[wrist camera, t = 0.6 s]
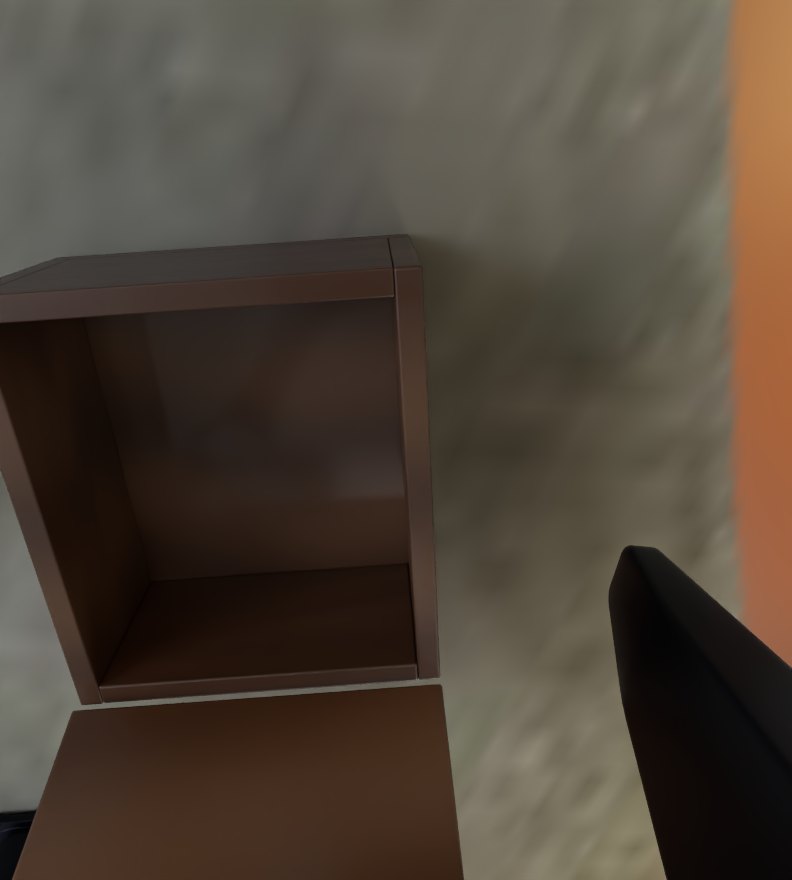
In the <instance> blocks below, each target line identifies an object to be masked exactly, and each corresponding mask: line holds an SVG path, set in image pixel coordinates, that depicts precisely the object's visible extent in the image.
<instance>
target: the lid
mask: <svg viewBox="0 0 792 880" xmlns="http://www.w3.org/2000/svg"><path fill="white" fill-rule="evenodd" d="M12 880H464V875H463V866H462V858H461V849H460V840H459V831H458V822H457V814H456V805H455V796H454V787H453V779H452V770H451V761H450V752H449V743H448V735H447V726H446V717H445V708H444V700H443V691H442V686H441V685H439V684H438V685H424V686H410V687H396V688H382V689H369V690H355V691H341V692H327V693H314V694H300V695H286V696H272V697H259V698H245V699H231V700H217V701H204V702H190V703H176V704H162V705H149V706H135V707H121V708H107V709H94V710H80V711H73V712H72V714H71V717H70V720H69V722H68V725H67V728H66V731H65V734H64V736H63V739H62V742H61V745H60V747H59V750H58V753H57V756H56V759H55V761H54V764H53V767H52V770H51V773H50V775H49V778H48V781H47V784H46V786H45V789H44V792H43V795H42V798H41V800H40V803H39V806H38V809H37V811H36V814H35V817H34V820H33V823H32V825H31V828H30V831H29V834H28V837H27V839H26V842H25V845H24V848H23V850H22V853H21V856H20V859H19V862H18V864H17V867H16V870H15V873H14V875H13V878H12Z"/></svg>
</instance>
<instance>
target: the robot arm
mask: <svg viewBox="0 0 792 880" xmlns="http://www.w3.org/2000/svg"><path fill="white" fill-rule="evenodd" d="M608 598H609V610H610V618H611V625H612V632H613V640H614V647H615V655H616V662H617V670H618V677H619V685H620V691H621V698H622V704H623V708H624V713H625V717H626V722H627V725H628V729H629V733H630V737H631V741H632V745H633V749H634V753H635V757H636V761H637V765H638V769H639V773H640V777H641V780H642V784H643V788H644V792H645V796H646V800H647V804H648V808H649V812H650V816H651V820H652V824H653V828H654V832H655V835H656V839H657V843H658V847H659V851H660V855H661V859H662V863H663V867H664V871H665V875H666V879H667V880H792V668H791V667H790V666H789V665H788V664H787V663H785V662H784V661H783V660H782V659H781V658H780V657H779V656H777V655H776V654H775V653H774V652H773V651H772V650H771V649H770V648H769V647H767V646H766V645H765V644H764V643H763V642H762V641H761V640H760V639H758V638H757V637H756V636H755V635H754V634H753V633H752V632H750V631H749V630H748V629H747V628H746V627H745V626H744V625H743V624H742V623H740V622H739V621H738V620H737V619H736V618H735V617H734V616H733V615H731V614H730V613H729V612H728V611H727V610H726V609H725V608H723V607H722V606H721V605H720V604H719V603H718V602H717V601H716V600H714V599H713V598H712V597H711V596H710V595H709V594H708V593H707V592H705V591H704V590H703V589H702V588H701V587H700V586H699V585H698V584H696V583H695V582H694V581H693V580H692V579H691V578H690V577H689V576H687V575H686V574H685V573H684V572H683V571H682V570H681V569H680V568H678V567H677V566H676V565H675V564H674V563H673V562H672V561H671V560H669V559H668V558H667V557H666V556H665V555H664V554H663V553H662V552H660V551H659V550H658V549H656V548H653V547H644V546H633V545H630V546H627V547H625V548H624V550H623V551H622V553H621V556H620V559H619V562H618V564H617V567H616V570H615V573H614V576H613V579H612V582H611V585H610V589H609V597H608ZM35 814H36V813H26V814H13V815H0V880H12V878H13V875H14V873H15V870H16V867H17V864H18V862H19V859H20V856H21V853H22V850H23V848H24V845H25V842H26V839H27V837H28V834H29V831H30V828H31V825H32V823H33V820H34V817H35Z"/></svg>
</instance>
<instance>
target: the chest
mask: <svg viewBox="0 0 792 880" xmlns="http://www.w3.org/2000/svg"><path fill="white" fill-rule="evenodd" d="M0 469H1V472H2V475H3V478H4V481H5V484H6V486H7V489H8V492H9V495H10V498H11V501H12V504H13V507H14V510H15V513H16V516H17V519H18V521H19V524H20V527H21V530H22V533H23V536H24V539H25V542H26V545H27V548H28V551H29V554H30V556H31V559H32V562H33V565H34V568H35V571H36V574H37V577H38V580H39V583H40V586H41V589H42V591H43V594H44V597H45V600H46V603H47V606H48V609H49V612H50V615H51V618H52V621H53V623H54V626H55V629H56V632H57V635H58V638H59V641H60V644H61V647H62V650H63V653H64V656H65V658H66V661H67V664H68V667H69V670H70V673H71V676H72V679H73V682H74V685H75V688H76V691H77V693H78V696H79V699H80V702H81V704H82V705H89V704H102V703H103V702H105V703H110V702H124V701H138V700H152V699H165V698H179V697H193V696H207V695H221V694H234V693H248V692H262V691H276V690H289V689H303V688H317V687H331V686H344V685H358V684H372V683H386V682H400V681H413V680H417V679H418V678H419V679H420V680H427V679H438V678H440V658H439V636H438V613H437V590H436V567H435V544H434V521H433V498H432V475H431V452H430V429H429V406H428V383H427V360H426V337H425V315H424V292H423V269H422V266H421V264H420V261H419V259H418V257H417V254H416V252H415V250H414V247H413V245H412V243H411V240H410V238H409V236H408V235H407V234H402V235H387V236H372V237H357V238H343V239H328V240H313V241H298V242H284V243H269V244H254V245H239V246H225V247H210V248H195V249H180V250H165V251H151V252H136V253H121V254H106V255H92V256H77V257H62V258H55V259H52V260H50V261H46V262H43V263H40V264H37V265H35V266H32V267H29V268H26V269H23V270H21V271H18V272H15V273H12V274H9V275H7V276H4V277H1V278H0Z"/></svg>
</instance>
